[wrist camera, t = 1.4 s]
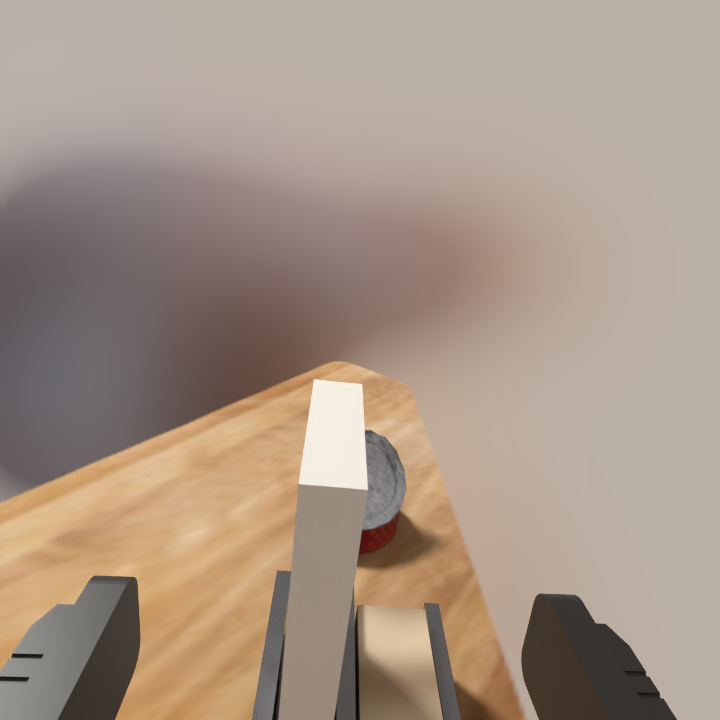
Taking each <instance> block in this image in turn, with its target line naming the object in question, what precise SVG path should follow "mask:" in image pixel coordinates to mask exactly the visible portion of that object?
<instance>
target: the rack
mask: <svg viewBox="0 0 720 720" xmlns="http://www.w3.org/2000/svg"><path fill="white" fill-rule="evenodd" d="M290 578H291V571H278V570H277V575H276V581H275V587H274V593H273V598H272V604H271V610H270V616H269V622H268V628H267V634H266V640H265V646H264V652H263V658H262V664H261V670H260V675H259V681H258V687H257V693H256V699H255V705H254V711H253V717H252V720H278V717H279V706H280V694H281V683H282V671H283V659H284V648H285V636H286V625H287V613H288V601H289V590H290ZM423 610H425V613H426V619H427V625H428V631H429V637H430V643H431V649H432V656H433V662H434V668H435V674H436V680H437V686H438V692H439V698H440V704H441V710H442V716H443V720H461V716H460V711H459V706H458V701H457V696H456V691H455V686H454V681H453V676H452V671H451V666H450V660H449V655H448V650H447V645H446V640H445V635H444V630H443V625H442V620H441V615H440V610H439V604H432V603H425V604H424V608H423ZM334 720H356V701H355V620H354V588H353V594H352V601H351V608H350V615H349V622H348V628H347V635H346V642H345V649H344V655H343V662H342V669H341V676H340V683H339V689H338V696H337V703H336V710H335V716H334Z"/></svg>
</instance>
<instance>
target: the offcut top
mask: <svg viewBox="0 0 720 720" xmlns="http://www.w3.org/2000/svg"><path fill="white" fill-rule="evenodd" d="M355 701H356V720H443V716H442V710H441V704H440V698H439V692H438V686H437V680H436V674H435V668H434V662H433V656H432V649H431V643H430V637H429V631H428V625H427V619H426V613H425V610H423V609H409V608H394V607H380V606H366V605H358V606H357V612H356V619H355Z"/></svg>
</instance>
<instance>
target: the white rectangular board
mask: <svg viewBox="0 0 720 720" xmlns="http://www.w3.org/2000/svg"><path fill="white" fill-rule="evenodd" d="M367 493H368V482H367V464H366V447H365V429H364V411H363V393H362V384H354V383H344V382H334V381H324V380H314V384H313V391H312V397H311V404H310V411H309V417H308V424H307V431H306V438H305V444H304V451H303V458H302V465H301V471H300V478H299V485H298V497H297V509H296V520H295V532H294V543H293V555H292V567H291V578H290V590H289V601H288V613H287V625H286V636H285V648H284V659H283V671H282V683H281V694H280V706H279V717H278V720H334V716H335V710H336V703H337V696H338V689H339V683H340V676H341V669H342V662H343V655H344V649H345V642H346V635H347V628H348V622H349V615H350V608H351V601H352V594H353V588H354V581H355V574H356V567H357V561H358V554H359V547H360V540H361V533H362V527H363V520H364V513H365V506H366V500H367Z"/></svg>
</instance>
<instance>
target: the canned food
mask: <svg viewBox="0 0 720 720" xmlns="http://www.w3.org/2000/svg"><path fill="white" fill-rule="evenodd" d="M365 447H366V464H367V482H368V493H367V500H366V506H365V513H364V520H363V527H362V533H361V540H360V547H359V554H362V553H369V552H372V551H375V550H378V549H380V548H382V547H383V546H385V545H386V544H387V543H388V542H390V541H391V539H392V538H393V536H394V534H395V531H396V527H397V521H398V516H399V510H400V508H401V507H402V504H403V499H404V496H405V492H406V482H405V472H404V468H403V465H402V463H401V461H400V459H399V456H398V453H397V451H396V450H395V448H394V447H393V446H392V445H391V444H390V442H389V441H388V440H387V439H386V438H385V437H384V436H381V435H378V434H376V433H374V432H373V431H371V430H365Z"/></svg>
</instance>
